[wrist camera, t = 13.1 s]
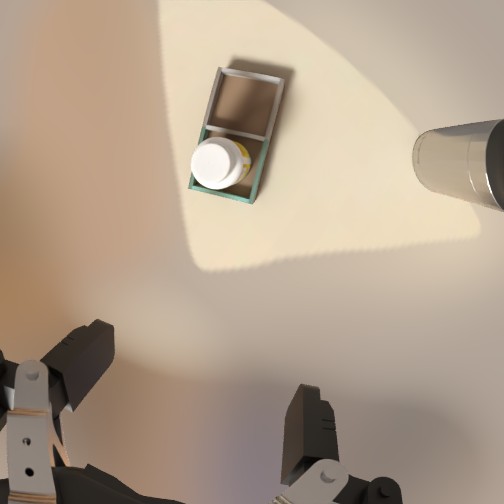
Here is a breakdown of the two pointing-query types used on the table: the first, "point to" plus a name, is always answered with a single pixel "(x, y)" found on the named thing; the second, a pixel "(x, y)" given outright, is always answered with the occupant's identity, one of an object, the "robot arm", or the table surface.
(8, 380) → the robot arm
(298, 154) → the table surface
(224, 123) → the divided sorting tray
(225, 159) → the supplement bottle
